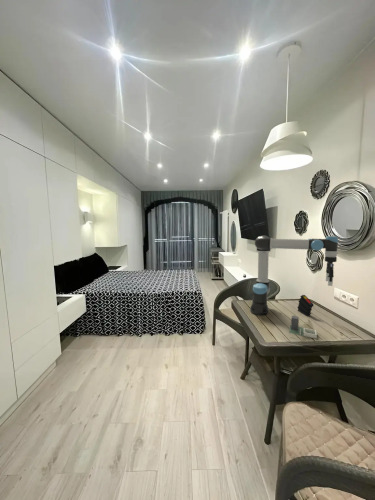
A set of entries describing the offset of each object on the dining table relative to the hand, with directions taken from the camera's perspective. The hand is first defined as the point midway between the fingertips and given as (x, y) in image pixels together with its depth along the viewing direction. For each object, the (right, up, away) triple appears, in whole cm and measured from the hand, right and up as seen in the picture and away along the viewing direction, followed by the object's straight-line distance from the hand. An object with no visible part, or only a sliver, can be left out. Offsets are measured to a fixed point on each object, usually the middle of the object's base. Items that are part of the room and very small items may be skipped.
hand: (328, 283), depth 155 cm
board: (-32, -31, -20) cm, 48 cm away
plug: (-35, -29, -16) cm, 48 cm away
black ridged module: (-13, -27, +10) cm, 32 cm away
